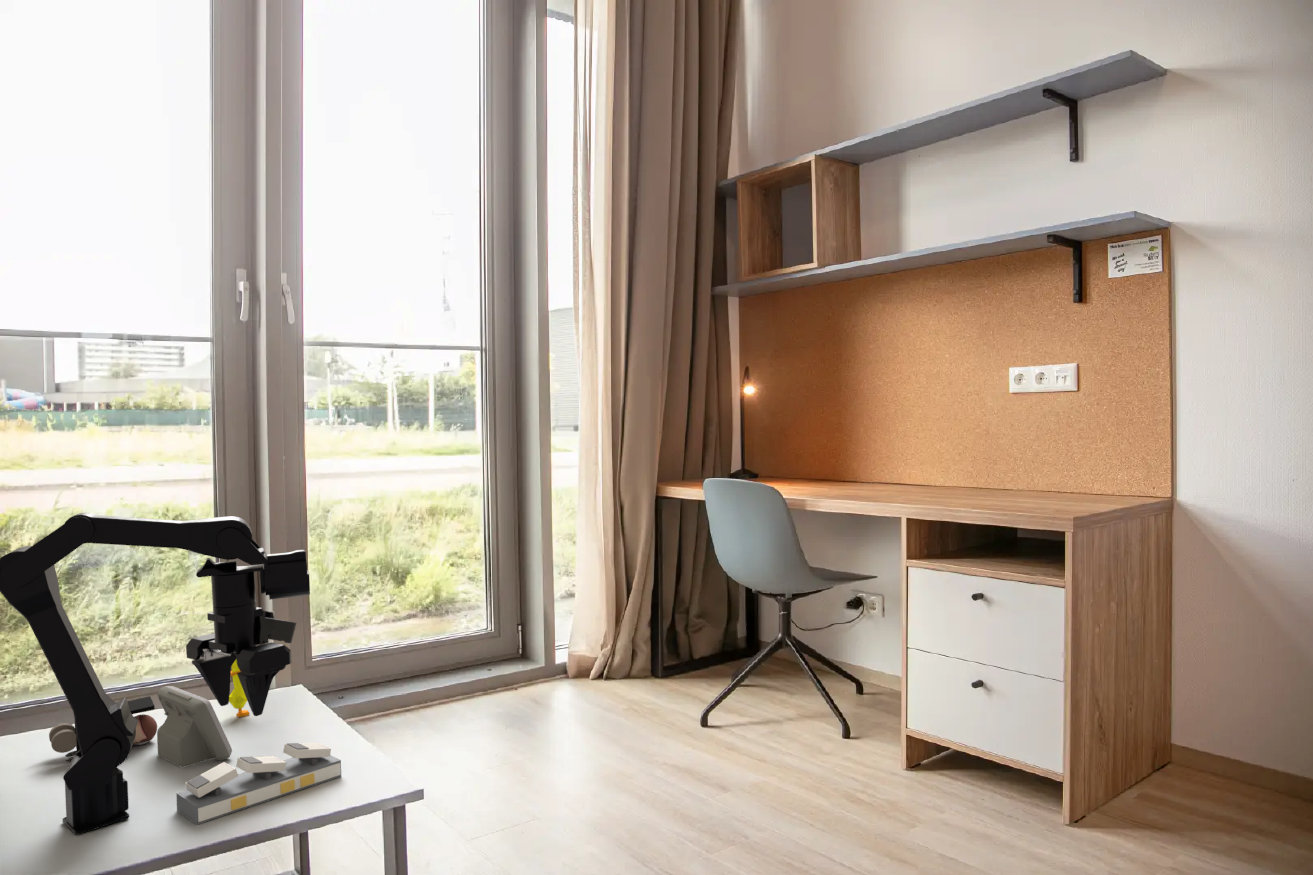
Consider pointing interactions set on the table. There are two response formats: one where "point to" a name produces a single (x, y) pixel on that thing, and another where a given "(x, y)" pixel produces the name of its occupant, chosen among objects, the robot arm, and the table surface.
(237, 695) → the toy figure
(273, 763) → the rocker middle
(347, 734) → the table surface
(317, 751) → the rocker far
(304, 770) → the switch unit
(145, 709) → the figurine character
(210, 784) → the rocker near
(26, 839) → the table surface
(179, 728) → the digital clock
